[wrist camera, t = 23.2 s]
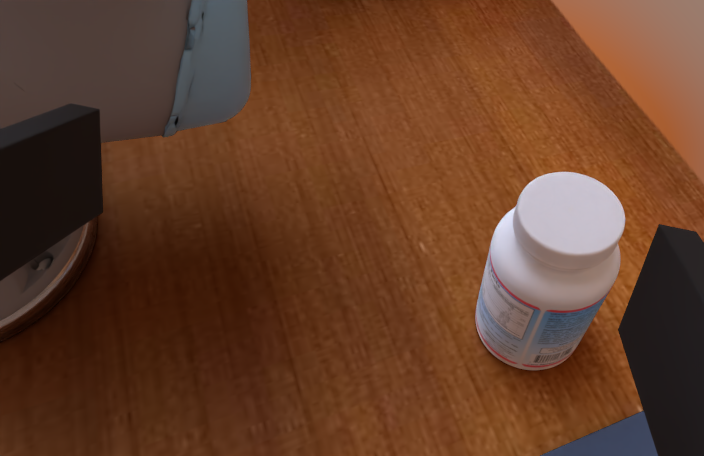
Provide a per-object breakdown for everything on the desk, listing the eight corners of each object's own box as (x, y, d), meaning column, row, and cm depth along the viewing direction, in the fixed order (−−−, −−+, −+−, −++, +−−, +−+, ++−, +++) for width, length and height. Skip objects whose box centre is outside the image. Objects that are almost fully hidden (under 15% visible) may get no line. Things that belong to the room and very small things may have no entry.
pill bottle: (580, 289, 38) (643, 169, 29) (575, 384, 35) (645, 282, 26) (479, 270, 39) (509, 148, 30) (465, 361, 36) (494, 255, 27)
